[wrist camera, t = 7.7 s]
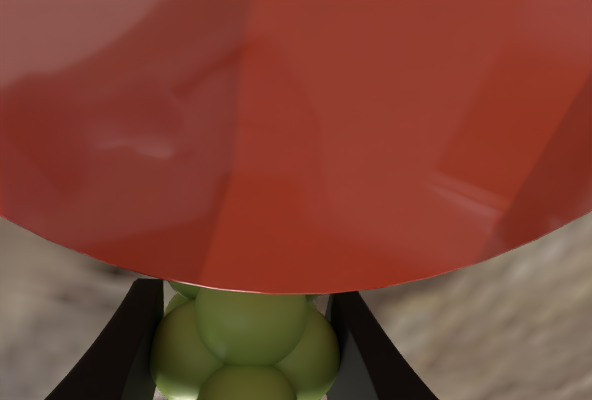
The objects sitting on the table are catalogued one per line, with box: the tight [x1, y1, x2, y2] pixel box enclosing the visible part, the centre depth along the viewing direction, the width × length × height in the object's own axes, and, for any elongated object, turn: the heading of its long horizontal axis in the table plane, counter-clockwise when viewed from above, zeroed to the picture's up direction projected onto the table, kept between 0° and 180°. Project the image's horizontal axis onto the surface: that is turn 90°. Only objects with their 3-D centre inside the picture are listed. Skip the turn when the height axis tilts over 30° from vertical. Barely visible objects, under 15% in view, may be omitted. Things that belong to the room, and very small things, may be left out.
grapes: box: [150, 281, 340, 400], centre depth 12 cm, size 5×4×7 cm
